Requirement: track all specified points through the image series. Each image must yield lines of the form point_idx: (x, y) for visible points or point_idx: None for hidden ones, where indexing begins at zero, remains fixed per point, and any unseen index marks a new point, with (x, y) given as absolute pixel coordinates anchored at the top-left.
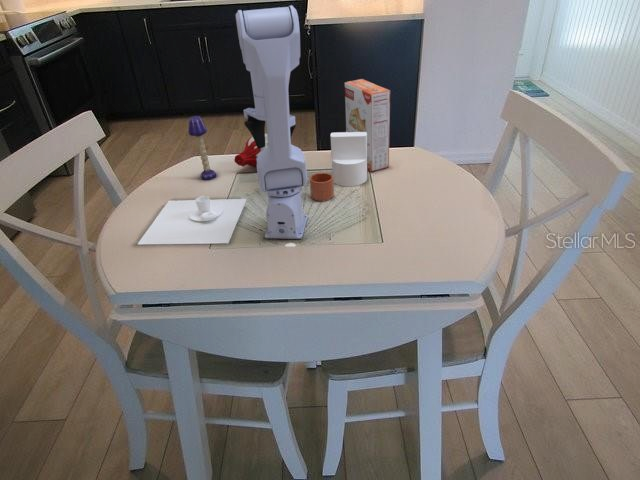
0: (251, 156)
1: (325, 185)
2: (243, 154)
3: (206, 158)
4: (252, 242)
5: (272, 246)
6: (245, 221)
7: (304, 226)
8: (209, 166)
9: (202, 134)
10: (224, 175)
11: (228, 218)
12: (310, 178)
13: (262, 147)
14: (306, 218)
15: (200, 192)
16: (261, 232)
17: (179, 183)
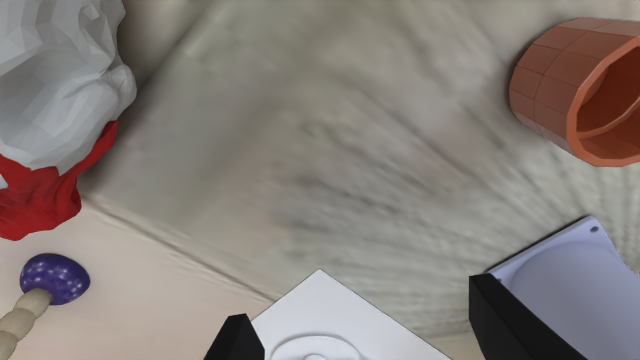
0: (53, 189)
1: None
2: (13, 216)
3: (8, 347)
4: None
5: None
6: (428, 321)
7: (621, 259)
8: (31, 303)
9: None
10: (75, 236)
11: (379, 338)
12: (582, 152)
13: (254, 332)
14: (604, 233)
15: (174, 326)
16: None
17: (69, 338)
